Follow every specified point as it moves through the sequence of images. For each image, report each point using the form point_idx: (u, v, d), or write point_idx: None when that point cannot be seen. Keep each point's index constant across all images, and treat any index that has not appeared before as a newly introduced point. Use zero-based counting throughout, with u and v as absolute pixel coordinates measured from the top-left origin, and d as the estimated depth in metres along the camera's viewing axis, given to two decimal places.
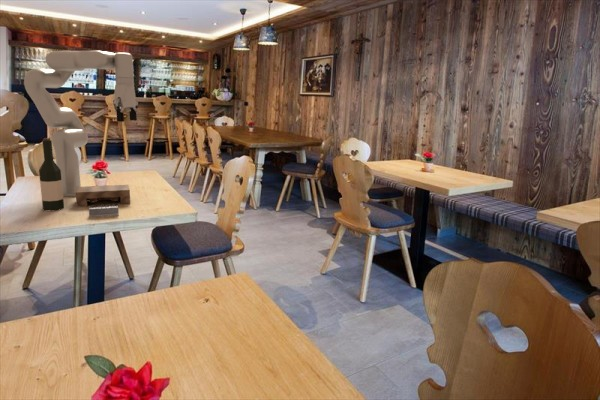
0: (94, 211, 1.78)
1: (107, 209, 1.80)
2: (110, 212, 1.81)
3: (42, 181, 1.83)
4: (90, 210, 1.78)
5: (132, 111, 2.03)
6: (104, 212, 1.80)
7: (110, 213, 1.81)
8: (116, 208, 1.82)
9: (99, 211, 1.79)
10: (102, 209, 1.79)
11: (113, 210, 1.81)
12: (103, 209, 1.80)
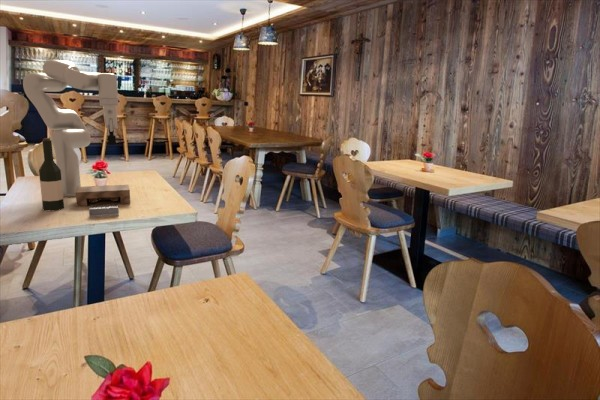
0: (94, 211, 1.78)
1: (107, 209, 1.80)
2: (110, 212, 1.81)
3: (42, 181, 1.83)
4: (90, 210, 1.78)
5: None
6: (104, 212, 1.80)
7: (110, 213, 1.81)
8: (116, 208, 1.81)
9: (99, 211, 1.79)
10: (102, 209, 1.79)
11: (113, 210, 1.81)
12: (103, 209, 1.80)
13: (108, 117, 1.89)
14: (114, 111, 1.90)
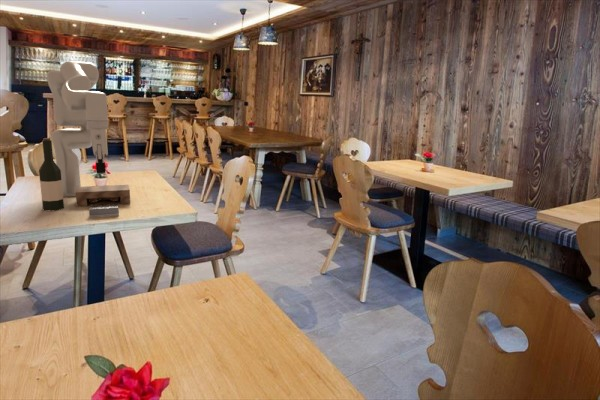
0: (94, 211, 1.78)
1: (107, 209, 1.80)
2: (110, 212, 1.81)
3: (42, 181, 1.83)
4: (90, 210, 1.78)
5: None
6: (104, 212, 1.80)
7: (110, 213, 1.81)
8: (116, 208, 1.81)
9: (99, 211, 1.79)
10: (102, 209, 1.79)
11: (113, 210, 1.81)
12: (103, 209, 1.79)
13: (96, 142, 1.64)
14: (103, 135, 1.65)
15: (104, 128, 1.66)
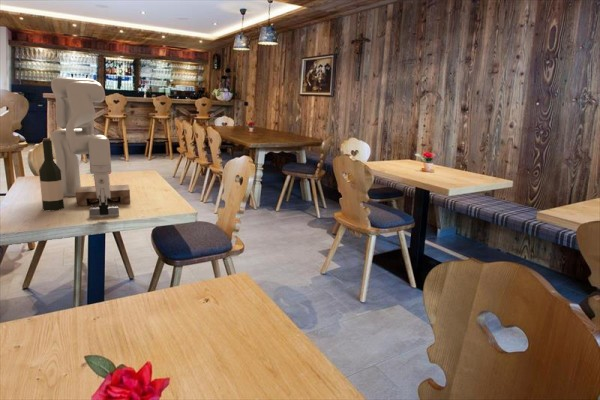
0: (94, 211, 1.78)
1: None
2: (110, 212, 1.81)
3: (42, 181, 1.83)
4: (90, 210, 1.77)
5: None
6: None
7: (110, 213, 1.81)
8: (116, 208, 1.81)
9: None
10: None
11: (113, 210, 1.81)
12: None
13: (99, 187, 1.68)
14: (106, 180, 1.68)
15: (107, 172, 1.70)
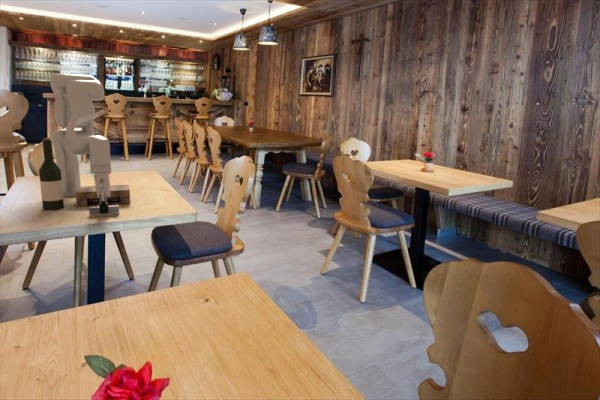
0: (95, 210, 1.80)
1: (108, 208, 1.82)
2: (111, 211, 1.82)
3: (42, 181, 1.83)
4: (91, 209, 1.79)
5: None
6: None
7: (111, 212, 1.83)
8: (116, 207, 1.83)
9: None
10: None
11: (113, 209, 1.83)
12: None
13: (99, 186, 1.72)
14: (106, 179, 1.73)
15: (107, 172, 1.74)
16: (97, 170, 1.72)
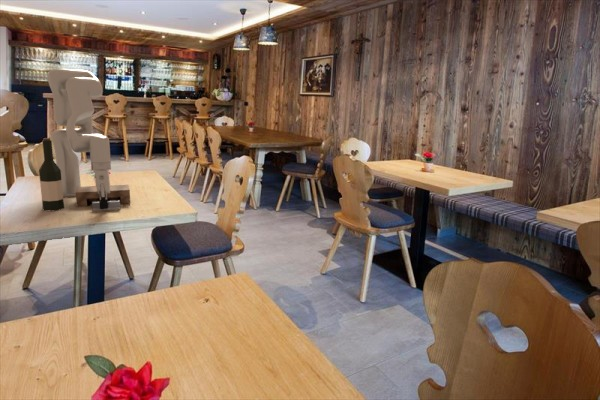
0: (97, 205, 1.88)
1: (109, 203, 1.89)
2: (112, 206, 1.90)
3: (42, 181, 1.83)
4: (93, 204, 1.87)
5: None
6: None
7: (112, 207, 1.90)
8: (118, 202, 1.91)
9: None
10: None
11: (115, 204, 1.90)
12: None
13: (100, 182, 1.79)
14: (106, 176, 1.80)
15: (107, 169, 1.81)
16: (97, 167, 1.79)
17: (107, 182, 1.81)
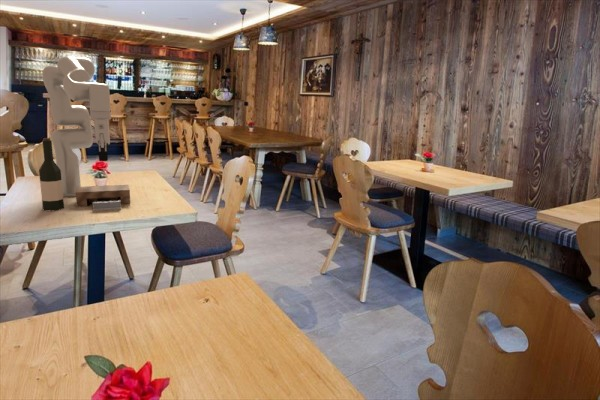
0: (97, 205, 1.88)
1: (110, 203, 1.89)
2: (113, 206, 1.90)
3: (42, 181, 1.83)
4: (94, 204, 1.87)
5: None
6: (107, 206, 1.89)
7: (113, 207, 1.90)
8: (118, 202, 1.91)
9: (102, 205, 1.88)
10: (105, 203, 1.89)
11: (116, 204, 1.90)
12: (106, 203, 1.89)
13: (99, 132, 1.72)
14: (106, 125, 1.73)
15: (107, 118, 1.74)
16: (97, 116, 1.72)
17: (107, 132, 1.74)
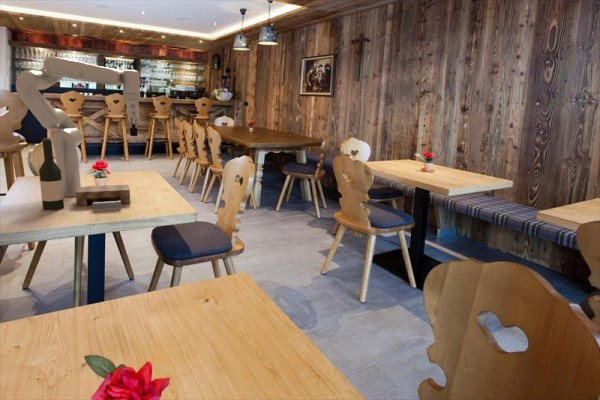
0: (98, 205, 1.87)
1: (110, 203, 1.89)
2: (113, 206, 1.90)
3: (42, 181, 1.83)
4: (94, 204, 1.87)
5: None
6: (107, 206, 1.89)
7: (113, 207, 1.90)
8: (119, 202, 1.90)
9: (102, 205, 1.88)
10: (105, 203, 1.88)
11: (116, 204, 1.90)
12: (106, 203, 1.89)
13: (131, 110, 2.05)
14: (137, 105, 2.05)
15: (137, 99, 2.07)
16: (129, 97, 2.04)
17: (137, 111, 2.06)
